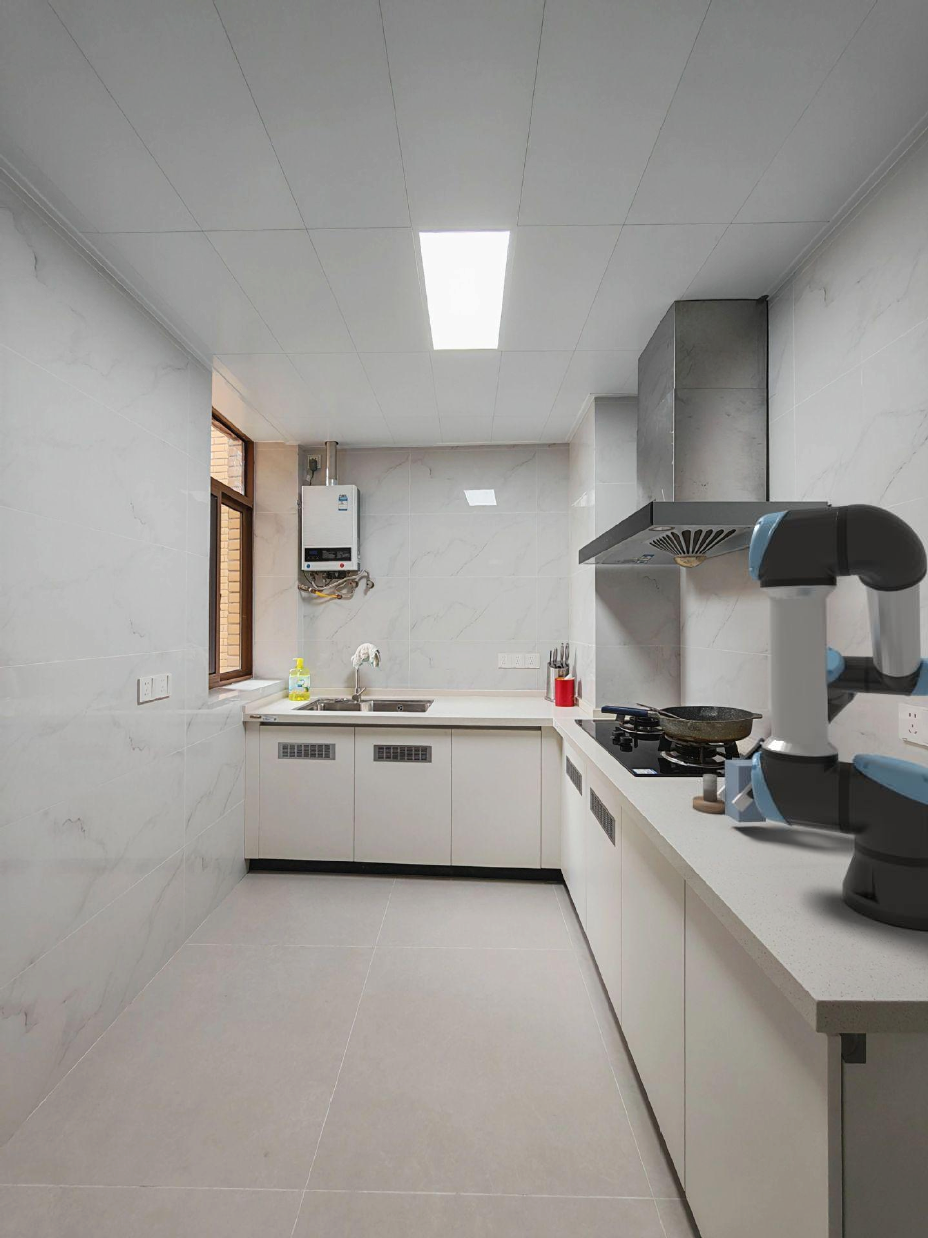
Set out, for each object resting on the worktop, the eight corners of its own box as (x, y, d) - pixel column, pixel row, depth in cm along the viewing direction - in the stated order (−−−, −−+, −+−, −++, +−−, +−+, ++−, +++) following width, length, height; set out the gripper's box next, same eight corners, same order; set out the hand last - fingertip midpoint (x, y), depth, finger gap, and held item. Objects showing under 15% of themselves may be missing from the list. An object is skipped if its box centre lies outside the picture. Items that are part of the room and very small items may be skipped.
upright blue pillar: (765, 821, 133) (765, 765, 133) (738, 822, 133) (738, 766, 133) (750, 813, 139) (750, 759, 139) (725, 814, 139) (724, 760, 139)
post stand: (727, 815, 146) (727, 781, 146) (691, 811, 149) (690, 777, 149) (729, 806, 153) (728, 773, 153) (694, 802, 156) (694, 770, 156)
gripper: (840, 747, 128) (764, 828, 126) (786, 731, 147) (719, 802, 145) (815, 721, 128) (739, 803, 126) (764, 709, 146) (697, 780, 145)
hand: (729, 802), depth 136 cm, fingers closed on upright blue pillar, 6 cm apart
